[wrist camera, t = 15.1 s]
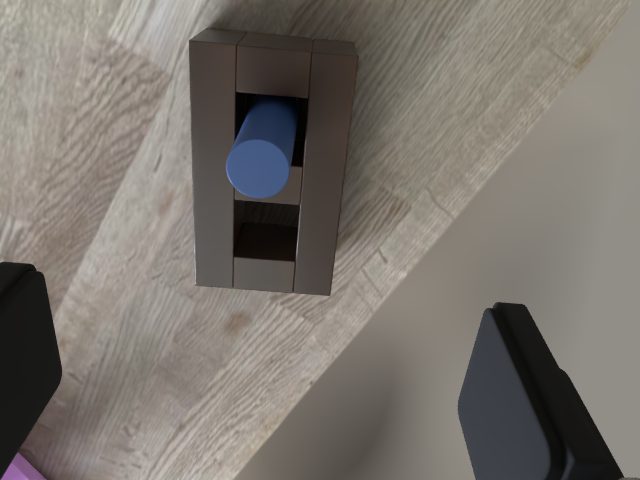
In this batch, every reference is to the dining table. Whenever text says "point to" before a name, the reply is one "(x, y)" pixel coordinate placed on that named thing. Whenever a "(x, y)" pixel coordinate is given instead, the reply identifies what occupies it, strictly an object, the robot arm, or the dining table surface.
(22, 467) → the pink pedestal chair
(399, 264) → the dining table surface
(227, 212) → the holder
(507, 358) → the robot arm
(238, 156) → the blue cylinder
